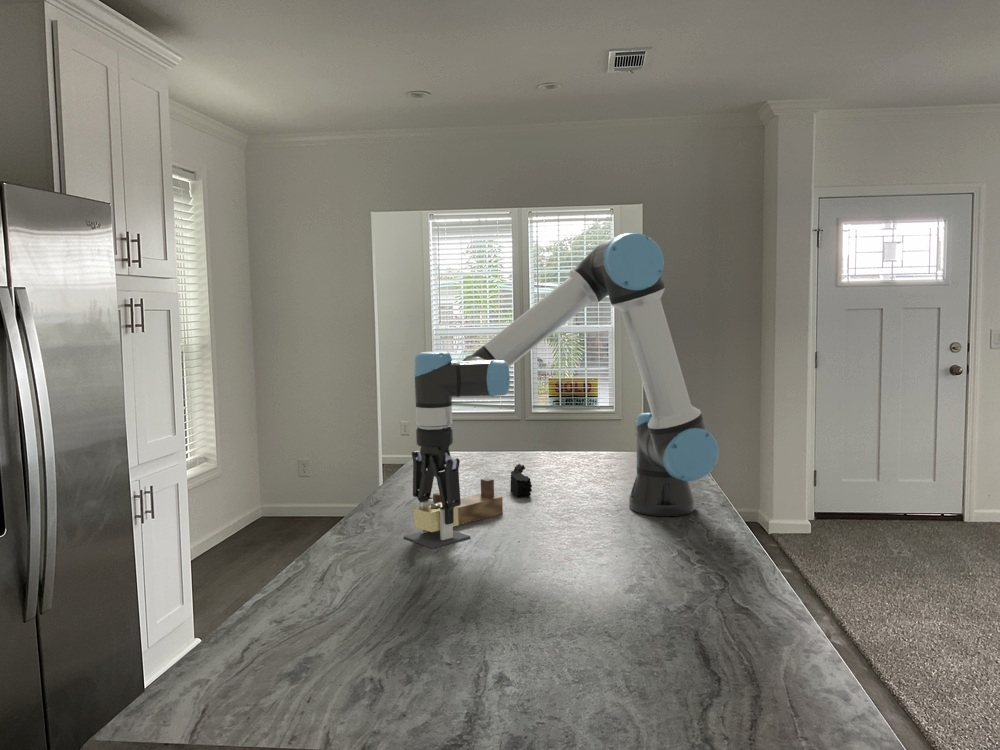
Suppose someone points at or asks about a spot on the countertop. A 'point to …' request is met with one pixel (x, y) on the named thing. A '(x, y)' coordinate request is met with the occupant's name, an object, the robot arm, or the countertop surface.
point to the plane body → (478, 503)
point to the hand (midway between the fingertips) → (436, 534)
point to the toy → (520, 483)
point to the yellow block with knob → (431, 517)
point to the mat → (434, 538)
